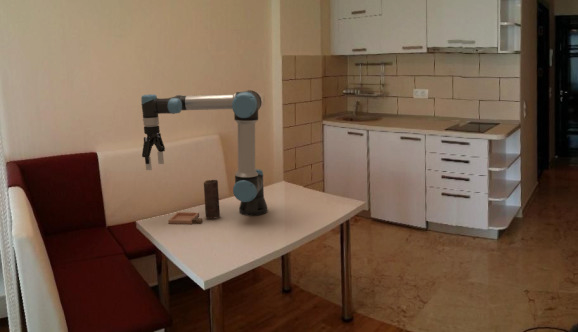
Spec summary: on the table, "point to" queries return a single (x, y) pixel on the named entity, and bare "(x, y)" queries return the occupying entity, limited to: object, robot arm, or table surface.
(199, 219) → the matchbox
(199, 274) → the table surface
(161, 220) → the table surface
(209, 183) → the dark brown tall piece
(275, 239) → the table surface
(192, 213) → the dish
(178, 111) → the robot arm
